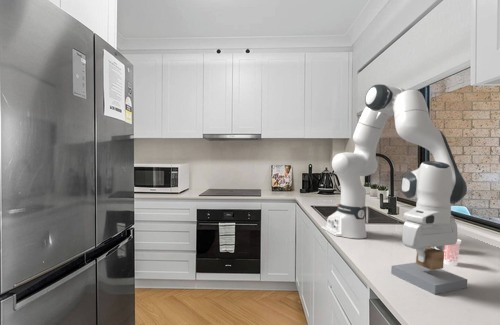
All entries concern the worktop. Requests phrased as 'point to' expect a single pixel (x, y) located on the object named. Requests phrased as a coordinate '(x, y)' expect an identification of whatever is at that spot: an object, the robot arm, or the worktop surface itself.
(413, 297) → the worktop surface
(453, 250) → the beverage cup
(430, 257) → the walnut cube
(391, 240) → the worktop surface
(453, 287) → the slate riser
